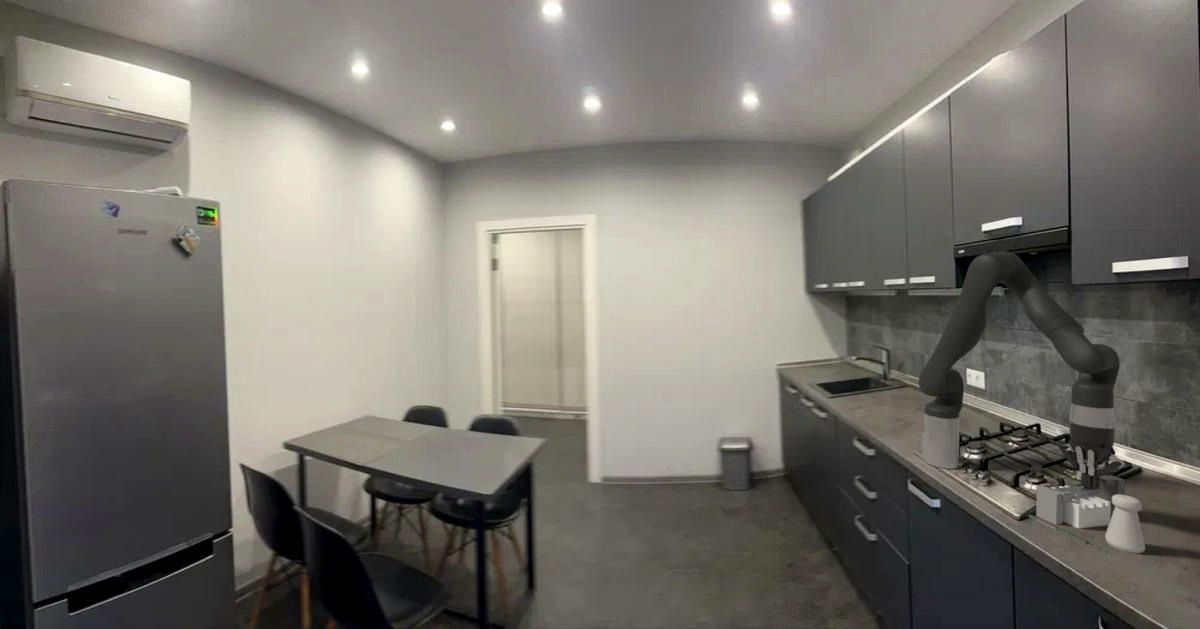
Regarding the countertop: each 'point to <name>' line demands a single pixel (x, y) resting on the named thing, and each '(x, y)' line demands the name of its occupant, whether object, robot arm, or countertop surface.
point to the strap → (1078, 490)
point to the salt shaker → (1125, 525)
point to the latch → (1111, 488)
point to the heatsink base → (1070, 509)
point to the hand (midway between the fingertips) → (1090, 487)
